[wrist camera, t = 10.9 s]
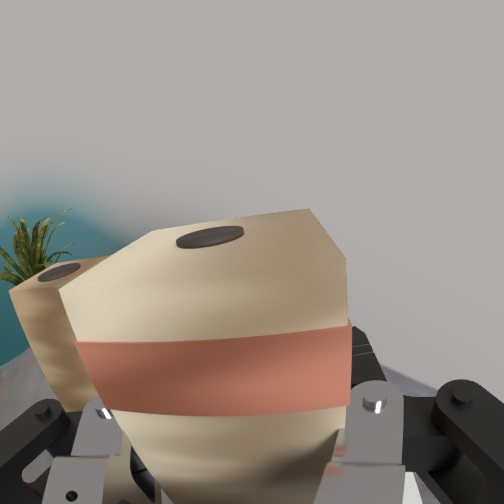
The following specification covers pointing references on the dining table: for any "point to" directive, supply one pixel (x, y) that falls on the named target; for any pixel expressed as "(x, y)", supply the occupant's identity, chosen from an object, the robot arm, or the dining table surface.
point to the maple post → (223, 354)
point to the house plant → (28, 252)
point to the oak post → (55, 331)
